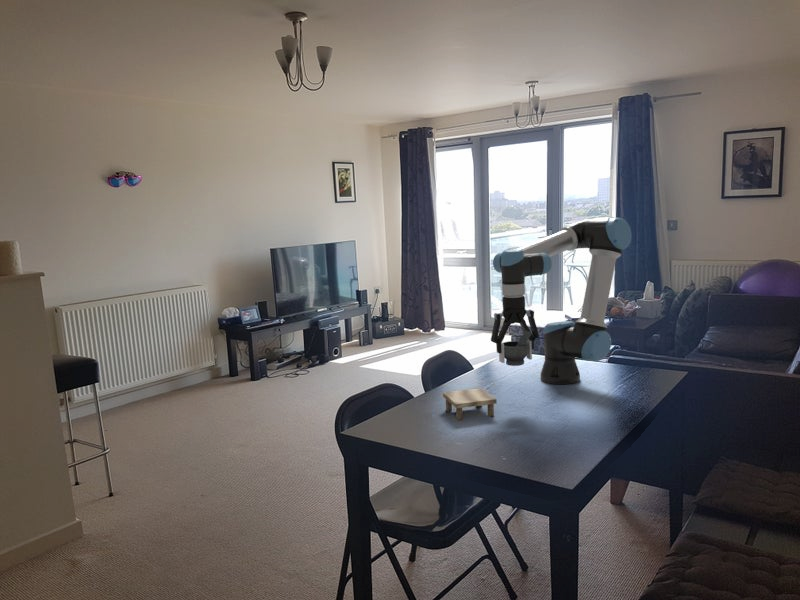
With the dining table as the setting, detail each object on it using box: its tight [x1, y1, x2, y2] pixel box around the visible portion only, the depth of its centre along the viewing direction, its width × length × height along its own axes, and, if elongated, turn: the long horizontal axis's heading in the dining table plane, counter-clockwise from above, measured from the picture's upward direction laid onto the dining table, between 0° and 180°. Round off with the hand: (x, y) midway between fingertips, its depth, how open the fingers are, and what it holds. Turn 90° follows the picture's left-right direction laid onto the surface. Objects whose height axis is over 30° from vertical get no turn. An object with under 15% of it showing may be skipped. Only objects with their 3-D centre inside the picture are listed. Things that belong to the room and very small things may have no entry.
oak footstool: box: [442, 387, 498, 422], centre depth 202 cm, size 14×14×6 cm
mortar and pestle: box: [502, 330, 532, 367], centre depth 204 cm, size 11×9×12 cm
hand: (515, 360), depth 205 cm, fingers closed on mortar and pestle, 9 cm apart
